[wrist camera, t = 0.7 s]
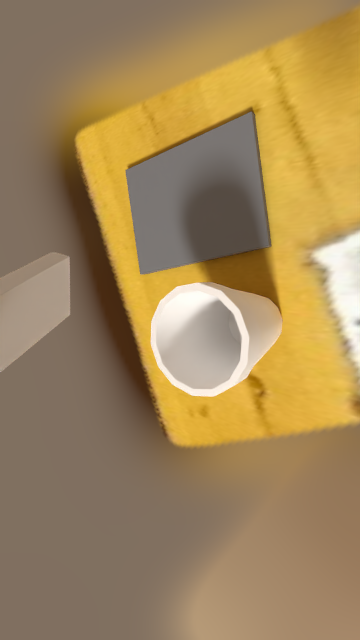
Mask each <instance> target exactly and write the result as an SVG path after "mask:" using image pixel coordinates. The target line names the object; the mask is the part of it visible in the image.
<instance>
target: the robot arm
mask: <svg viewBox="0 0 360 640" xmlns="http://www.w3.org/2000/svg"><path fill="white" fill-rule="evenodd" d="M69 315H70V257H69V256H66V255H63V254H59V253H55V252H51V253H49V254H47V255H45V256H43V257H41V258H40V259H37V260H35V261H33V262H31V263H29V264H27V265H25V266H23V267H21V268H19V269H17V270H16V271H13V272H11V273H9V274H7V275H5V276H3V277H1V278H0V372H1V371H3V369H5V368H6V367H7V366H8V365H10V364H11V363H12V362H13V361H14V360H16V359H17V358H18V357H19V356H21V355H22V354H23V353H24V352H25V351H27V350H28V349H29V348H30V347H31V346H33V345H34V344H35V343H36V342H37V341H39V340H40V339H41V338H42V337H44V336H45V335H46V334H47V333H48V332H50V331H51V330H52V329H53V328H55V327H56V326H57V325H58V324H59V323H61V322H62V321H63V320H64V319H65V318H67V317H68V316H69Z"/></svg>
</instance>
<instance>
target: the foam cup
mask: <svg viewBox="0 0 360 640" xmlns="http://www.w3.org/2000/svg"><path fill="white" fill-rule="evenodd" d="M281 330H282V317H281V314H280V312H279V309H278V307H277V306H276V305H275V304H274V303H273V302H272V301H271V300H270V299H269V298H266V297H263V296H260V295H257V294H253V293H249V292H244V291H240V290H235V289H231V288H228V287H225V286H222V285H219V284H216V283H213V282H203V283H194V284H189V285H183V286H178V287H176V288H175V289H174V290H172V291H171V292H170V293H169V294H168V295H166V296H165V297H164V298H163V299H162V300H161V301H160V303H159V305H158V307H157V310H156V312H155V314H154V316H153V319H152V322H151V346H152V349H153V352H154V355H155V358H156V361H157V364H158V367H159V368H160V369H161V371H162V372H163V373H164V374H165V376H166V377H167V378H168V379H169V381H170V382H171V383H172V384H173V385H174V386H176V387H178V388H180V389H181V390H183V391H185V392H187V393H189V394H190V395H192V396H216V395H218V394H220V393H222V392H223V391H225V390H227V389H229V388H231V387H233V386H234V385H236V384H238V383H239V382H241V381H242V380H244V379H245V378H247V376H248V374H249V373H250V371H251V369H252V368H253V366H254V365H255V364H256V363H257V362H258V361H259V360H260V359H261V358H262V357H263V355H264V354H265V353H266V352H267V351H268V350H269V349H270V348H271V347H272V346H273V344H274V343H275V342H276V340H277V338H278V337H279V335H280V334H281Z"/></svg>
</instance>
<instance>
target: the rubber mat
mask: <svg viewBox="0 0 360 640" xmlns="http://www.w3.org/2000/svg"><path fill="white" fill-rule="evenodd" d="M126 177H127V184H128V191H129V198H130V205H131V212H132V219H133V226H134V233H135V240H136V247H137V254H138V261H139V268H140V274H148V273H153V272H157V271H162V270H166V269H171V268H175V267H180V266H184V265H189V264H193V263H198V262H203V261H207V260H212V259H216V258H221V257H225V256H230V255H234V254H239V253H243V252H248V251H253V250H257V249H262V248H266V247H271V239H270V231H269V223H268V215H267V208H266V200H265V192H264V184H263V176H262V168H261V161H260V153H259V145H258V137H257V129H256V122H255V114H254V113H253V112H249V113H247V114H245V115H243V116H241V117H239V118H237V119H234V120H232V121H230V122H228V123H226V124H224V125H221V126H219V127H217V128H215V129H213V130H211V131H209V132H206V133H204V134H202V135H200V136H198V137H196V138H194V139H191V140H189V141H187V142H185V143H183V144H181V145H179V146H176V147H174V148H172V149H170V150H168V151H166V152H164V153H161V154H159V155H157V156H155V157H153V158H151V159H149V160H146V161H144V162H142V163H140V164H138V165H136V166H134V167H131V168H129V169H127V170H126Z"/></svg>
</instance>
